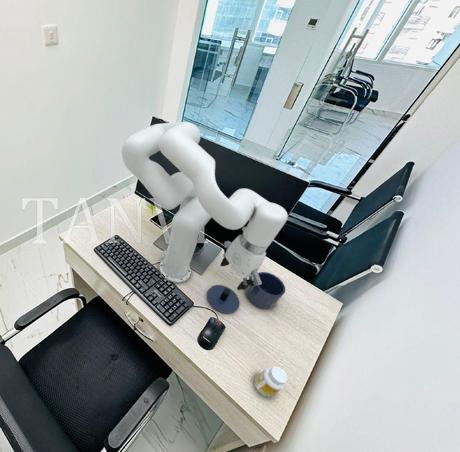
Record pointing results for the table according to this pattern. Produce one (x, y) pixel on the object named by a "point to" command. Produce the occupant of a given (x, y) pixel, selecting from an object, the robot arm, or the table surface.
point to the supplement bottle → (271, 381)
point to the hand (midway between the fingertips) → (232, 276)
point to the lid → (223, 299)
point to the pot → (266, 291)
